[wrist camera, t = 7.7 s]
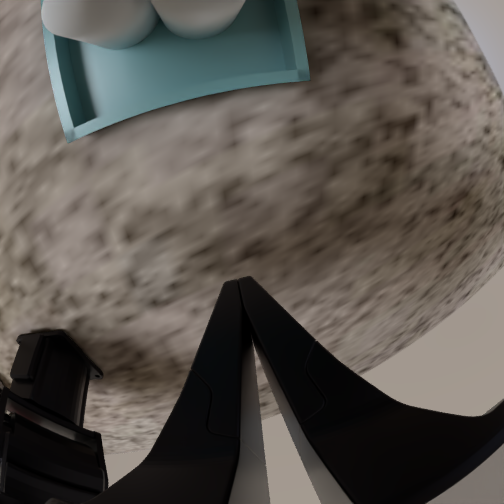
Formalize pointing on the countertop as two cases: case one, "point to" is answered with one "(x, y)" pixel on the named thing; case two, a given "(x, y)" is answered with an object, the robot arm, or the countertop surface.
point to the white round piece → (197, 16)
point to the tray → (173, 66)
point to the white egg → (101, 21)
